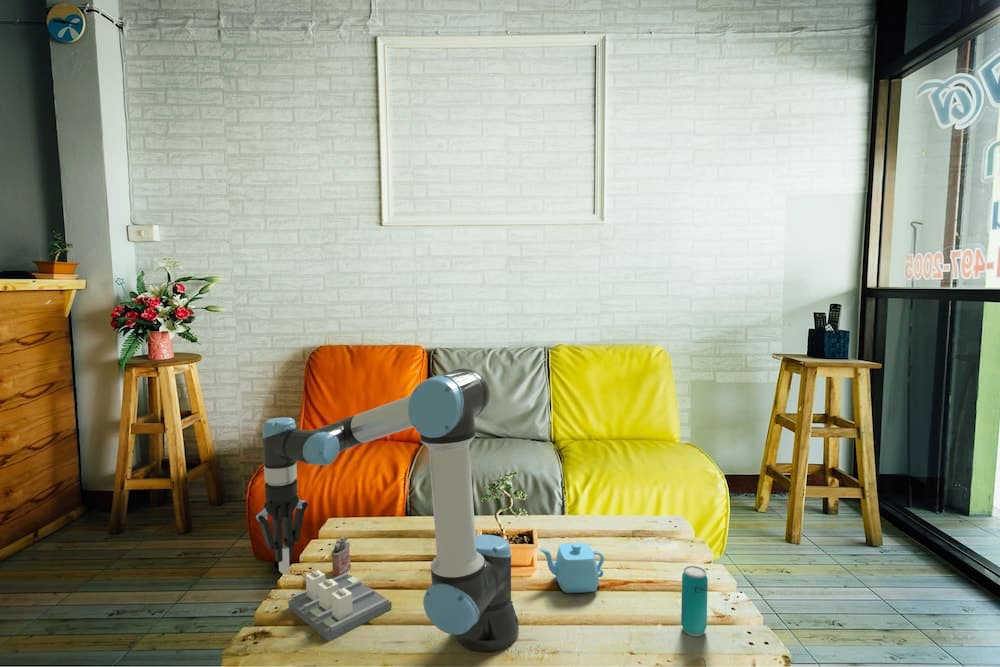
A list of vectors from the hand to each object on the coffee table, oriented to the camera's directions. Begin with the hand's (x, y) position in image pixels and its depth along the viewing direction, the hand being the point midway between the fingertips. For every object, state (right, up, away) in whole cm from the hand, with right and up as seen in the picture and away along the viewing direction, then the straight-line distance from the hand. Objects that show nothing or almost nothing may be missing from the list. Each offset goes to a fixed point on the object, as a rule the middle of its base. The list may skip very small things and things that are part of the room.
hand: (284, 571), depth 143 cm
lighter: (+8, -10, +23) cm, 26 cm away
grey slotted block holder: (+13, -11, +4) cm, 18 cm away
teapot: (+74, -10, +15) cm, 76 cm away
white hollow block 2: (+15, -10, -2) cm, 18 cm away
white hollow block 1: (+6, -9, +7) cm, 13 cm away
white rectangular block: (+11, -9, +2) cm, 14 cm away
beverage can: (+101, -12, -6) cm, 102 cm away
